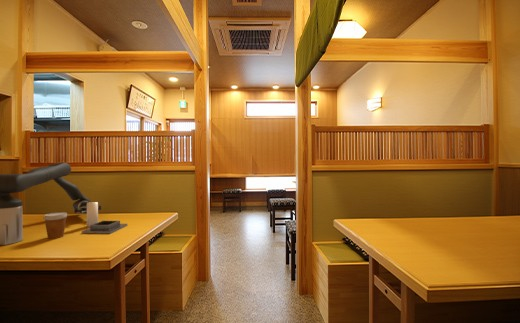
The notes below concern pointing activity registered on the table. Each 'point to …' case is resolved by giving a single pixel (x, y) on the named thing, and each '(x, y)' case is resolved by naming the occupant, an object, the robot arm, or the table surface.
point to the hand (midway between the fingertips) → (89, 210)
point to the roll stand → (105, 227)
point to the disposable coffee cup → (55, 224)
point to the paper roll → (92, 213)
